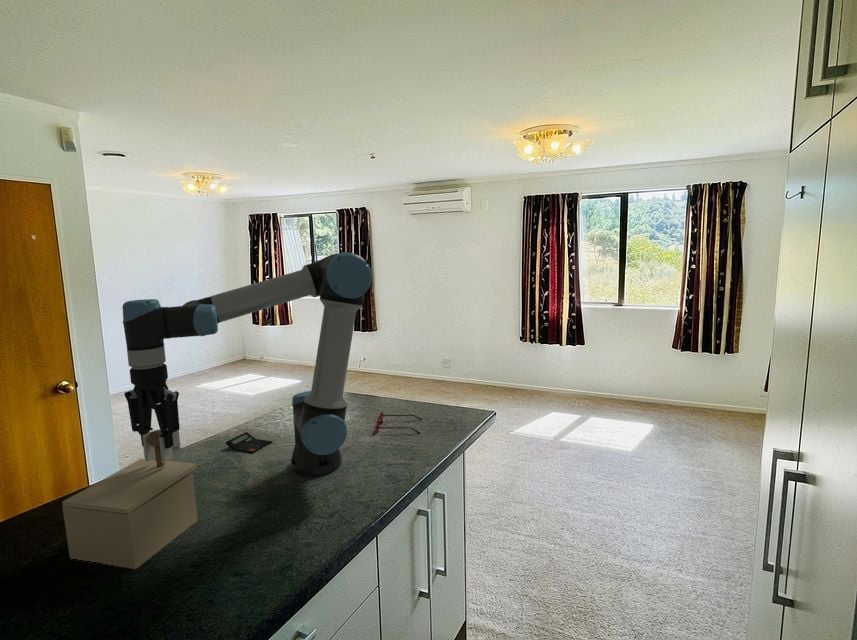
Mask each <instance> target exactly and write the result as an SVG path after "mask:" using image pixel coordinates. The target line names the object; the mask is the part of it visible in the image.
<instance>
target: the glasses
mask: <svg viewBox="0 0 857 640" xmlns="http://www.w3.org/2000/svg"><path fill="white" fill-rule="evenodd" d="M384 417H414V418H416V419H418V420H419V421H421V420H423V419H422V418H420V417H419V416H417V415H414V414H384V411H383V410H382V411H381V412H380V413H379V417H377V420H376V426H374V429H375V430H376V433H377V434H378V433H379V430H380V429H382V430H383V429H411V430H413V431H414V432H416V433H417V434H418V435H421V432H420V431H418V430H416V429H415V428H414V427H408V426H405V427H403V426H402V427H401V426H399V427H397V426H396V427H395V426H394V427H393V426H391V427H390V426H389V427H388V426H387V427H385V426H383V427H380V426H382V425H383V422H384V421H383V419H384Z"/></svg>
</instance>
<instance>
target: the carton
mask: <svg viewBox="0 0 857 640" xmlns="http://www.w3.org/2000/svg"><path fill="white" fill-rule="evenodd" d="M194 481H195V480H194V474H193V473H189V474H187V475H186V476H184V477H183V478H181V479H180V480H178V481H177V482H175V483H174V484H172V485H171V486H169V487H168V488H166V489H164V490H163V491H161V492H160V493H158V494H157V495H155V496H154V497H152V498H151V499H149V500H148V501H146V502H145V503H143V504H142V505H140V506H139V507H137V508H136V509H134V510H133V511H131V512H130V513H128V514H125V513H117V512H108V511H100V510H92V509H83V508H75V507H67V506H63V505H62V513H63V519H64V526H65V532H66V540H67V549H68V554H69V559H70V558H71V559H70V560H72V559H77V560H76V561H79V560H84V561H83V562H85V561H91V562H90V563H92V562H98V563H103V564H102V565H105V564H107V565H106V566H111V565H113V566H112V567H118V566H119V568H124V567H125V569H132V570H136V569H138V568H139V567H140V566H142V565H143V564H144V563H146V562H147V561H148V560H149V559H151V558H152V557H153V556H154V555H156V554H157V553H158V552H160V551H161V550H162V549H163V548H165V547H166V546H167V545H169V544H170V543H171V542H172V541H174V540H175V539H176V538H177V537H179V536H180V535H181V534H182V533H184V532H185V531H186V530H187V529H189V528H190V527H192V526H193V525H194V524H195V523H197V522H198V510H197V501H196V492H195V482H194ZM98 563H97V564H98Z"/></svg>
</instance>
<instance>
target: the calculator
mask: <svg viewBox="0 0 857 640" xmlns="http://www.w3.org/2000/svg"><path fill="white" fill-rule="evenodd" d="M271 443H272V444H273V443H274V442H273V441H272V440H268V439H267V440H266V439H265V440H264V439H259V438H255V437H254V436H253V435H252V434H250V433H249V432H248V431H246V432H243V433H241V434H239V435H238V436H235V437H232V438H231V439H229V440H227V441H226V442H225V445H227V446H228V447H229V448H230V449H232V450H233V451H234V450H235V452H240V451H241V452H240V453H246V452H248V453H247V454H252V453H254V454H255V453H257V452H259V451H261V450H263V449H264V448H266V447H268V446H270V445H271ZM269 444H270V445H269ZM267 445H268V446H267ZM265 446H266V447H265ZM263 447H264V448H263ZM262 448H263V449H262ZM260 449H261V450H260ZM258 450H259V451H258ZM256 451H257V452H256Z"/></svg>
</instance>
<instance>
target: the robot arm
mask: <svg viewBox="0 0 857 640" xmlns="http://www.w3.org/2000/svg"><path fill="white" fill-rule="evenodd" d="M372 279H373V275H372V270H371V267H370V265H369V263H368V262H367V261H366V259H364V258H363V257H362V256H360V255H358V254H356V253H353V252H345V251H344V252H339V253H332V254H330V255H327V256H326V257H324V258H321V259H319V260H317V261H314V262H311V263H308V264H304V265H303V266H302V269H300V270H296V271H293V272H290V273H286V274H283V275H280V276H276V277H272V278H269V279H266V280H265V279H264V280H262V281H259V282H255V283H252V284H248V285H244V286H241V287H237V288H234V289H231V290H227V291H224V292H221V293H217V294H213V295H210V296H208V297H207V296H206V297H203V298H200V299H194V300H189V301H186V302H185V303H184V304H183V305H177V306H176V305H175V306H169V307H168V306H161V304H160V301H159V300H158V299H157V298H156V299H154V298H153V299H151V298H150V299H149V298H147V299H134V300H133V299H132V300H128V301H125V302H124V303H123V304H122V306H121V307H122V308H121V309H122V319H123V320H122V324H123V325H122V326H123V330H124V331H123V332H124V337H125V342H126V343H125V345H126V354H127V355H126V356H127V365H128V367H131V368H130V369H129V376H130V383H131V384H132V385H134V386H133V389H130V390H128V391H125V392H124V393H123V394H124V397H125V399H126V402H127V405H128V406H127V407H128V412H129V419H130V424H131V430H132V432H134V433H136V432H137V433H138V435H140V439H141V440H140V441H141V446H142V447H144V448H143V454H144V453H145V457H144V459H145V461H150V460H152V459H154V458H156V456H155V449H154V447H152V446H150V445H149V444H148V441H147V438H148V435H149V434H150V433H151V432H153V431H154V427H152V418H153V417H152V414H153V413H152V412H153V411H154V413H155V416H156V417H155V418H156V420H157V424H158V427H159V429H160V431H161V435H159V442H160V451H161V459H162V463H165V462H167V461H169V460H171V459H173V451H172V446H173V435H172V434H173V433H174V432H176V431H180V417H179V415H180V414H179V405H178V404H179V403H178V400H179V395H180V393H179V391H177V390H175V391H172V390H170V389H169V387H168V385H167V380H168V378H169V374H168V366H167V364H165V363H166V349H165V342H164V340H166V339H167V340H168V339H169V340H170V339H176V338H177V339H178V338H190V337H205V336H209V335H216V333H218V331H219V325H218V324H220V323H223V322H227V321H229V320H232V319H236V318H239V317H240V318H241V317H242V316H245V315H249V314H253V313H255V312H259V311H262V310H265V309H269V308H271V307H275V306H279V305H282V304H285V303H289V302H292V301H295V300H298V299H301V298H304V297H305V298H306V297H309V296H311V297H313V298H316V297H319V301H320V303H322V305H323V314H322V319H321V325H320V332H319V340H318V344H317V352H316V358H315V364H314V371H313V378H312V383H311V390H308V391H303V392H302V391H301V392H299V393H296V394H294V395H293V396H292V401H291V402H292V404H291V406H292V416H293V429H294V430H293V431H294V432H293V433H294V448H293V451H292V455H291V459H290V470H291V472H292V473H293V474H295V475H296V476H301V477H317V476H323V475H327V474H330V473H332V472H334V471H336V470H338V469H339V468H340V467H341V466H342V463H343V459H342V454H341V451H340V449H341V447H342V446H343V444H344V443H345V442H346V439H347V436H348V427H347V423H346V421H345V420H346V414H347V407H348V403H347V401H346V400H345V399H344V391H345V385H346V384H345V383H346V379H347V372H348V366H349V359H350V353H351V352H350V351H351V346H352V340H353V334H354V327H355V322H356V315H357V311H358V310H360V309H362V307H364V301H365V295H366V292H367V291H368V290H369V288H370V286H371V283H372ZM166 429H167V430H166Z"/></svg>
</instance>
